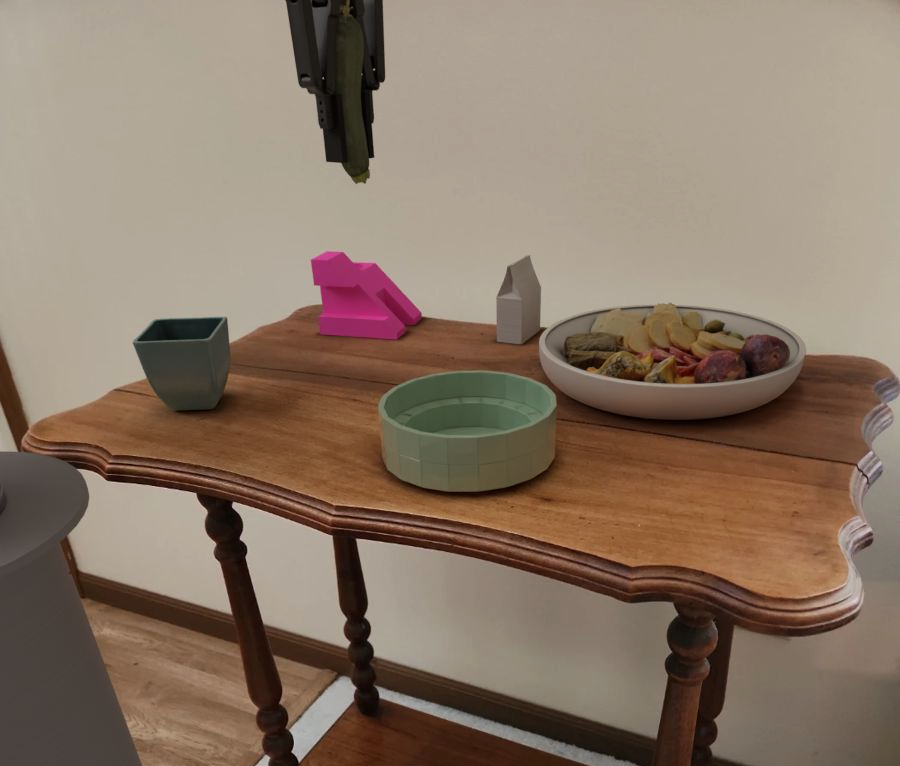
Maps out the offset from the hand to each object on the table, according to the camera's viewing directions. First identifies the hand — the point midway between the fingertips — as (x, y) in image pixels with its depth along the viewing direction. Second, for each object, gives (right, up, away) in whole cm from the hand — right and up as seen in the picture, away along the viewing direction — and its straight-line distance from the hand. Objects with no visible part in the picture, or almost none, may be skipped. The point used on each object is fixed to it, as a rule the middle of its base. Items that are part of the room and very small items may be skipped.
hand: (350, 159), depth 93 cm
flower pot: (-19, -27, +4) cm, 33 cm away
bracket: (0, -10, +27) cm, 29 cm away
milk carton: (+21, -14, +21) cm, 33 cm away
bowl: (+37, -25, +4) cm, 45 cm away
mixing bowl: (+13, -36, -11) cm, 40 cm away
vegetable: (0, -2, +2) cm, 3 cm away
